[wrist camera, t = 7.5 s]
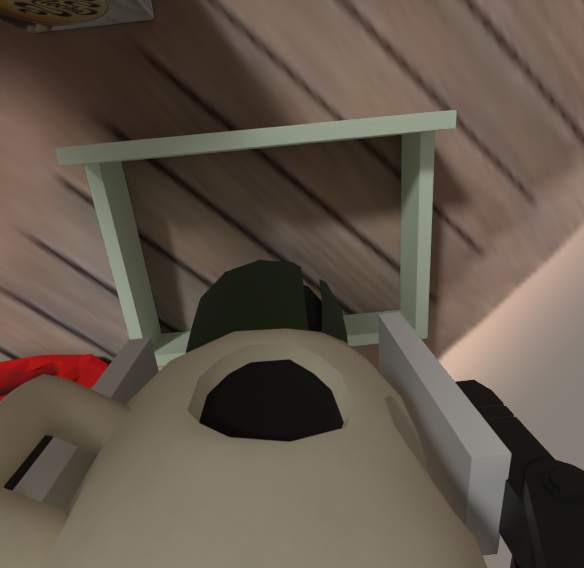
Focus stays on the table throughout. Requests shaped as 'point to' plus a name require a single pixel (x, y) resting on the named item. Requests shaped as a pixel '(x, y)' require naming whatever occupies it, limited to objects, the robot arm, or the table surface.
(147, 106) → the table surface
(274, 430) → the character mug
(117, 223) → the frame
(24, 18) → the coffee box
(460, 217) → the table surface
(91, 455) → the robot arm
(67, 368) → the cloth
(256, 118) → the table surface
